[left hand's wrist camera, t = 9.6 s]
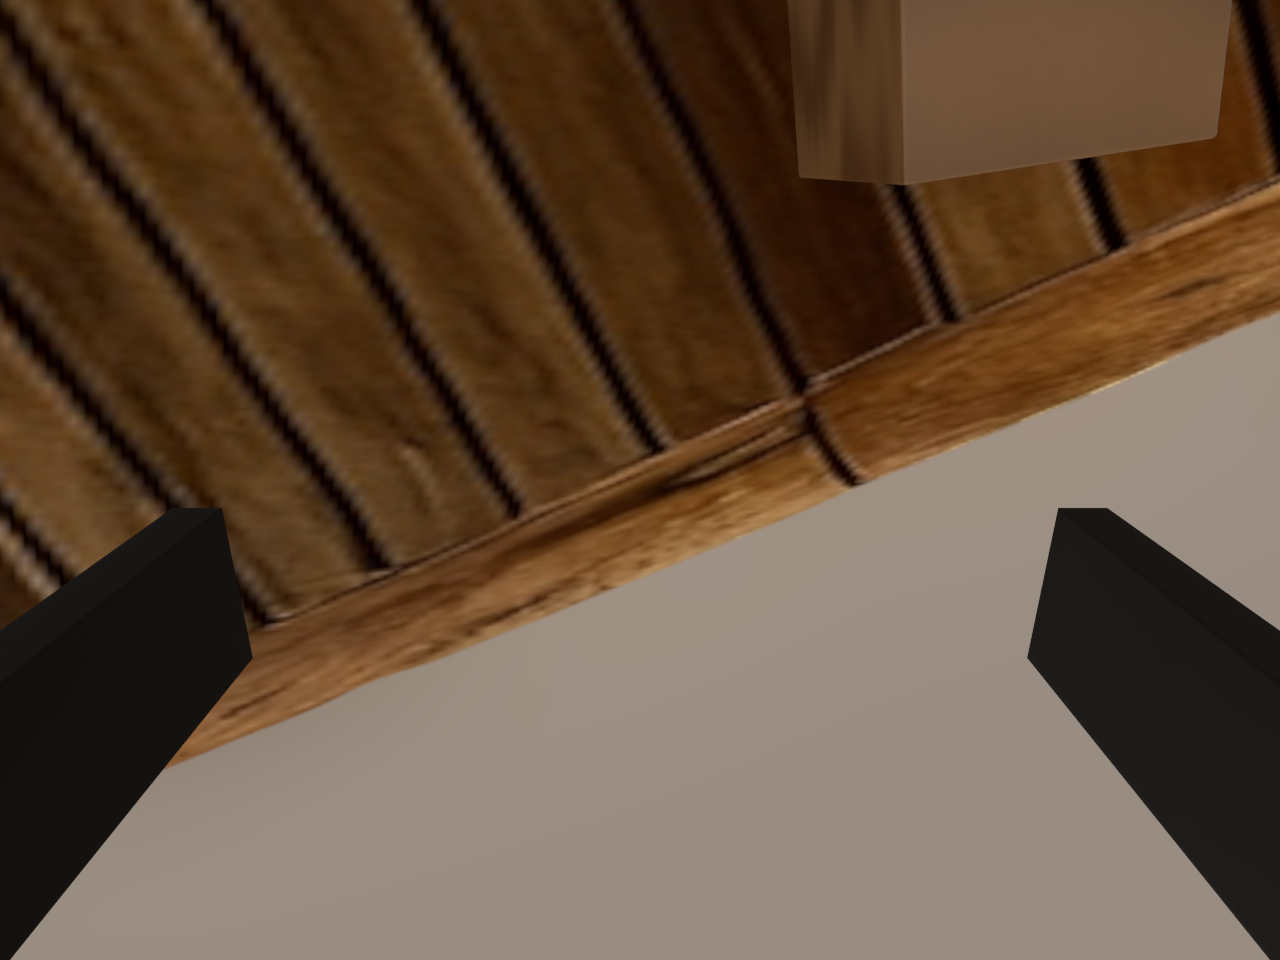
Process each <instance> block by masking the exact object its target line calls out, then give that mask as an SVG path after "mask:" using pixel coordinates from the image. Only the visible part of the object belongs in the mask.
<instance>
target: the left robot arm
mask: <svg viewBox="0 0 1280 960" xmlns="http://www.w3.org/2000/svg"><path fill="white" fill-rule="evenodd" d="M252 658H253V657H252V652H251V647H250V643H249V638H248V633H247V628H246V623H245V618H244V614H243V609H242V604H241V599H240V594H239V589H238V585H237V580H236V575H235V570H234V565H233V561H232V556H231V551H230V546H229V541H228V536H227V532H226V527H225V522H224V517H223V512H222V508H172V509H171V510H169V511H168V512H167V513H165V514H164V515H162V516H161V517H160V518H158V519H157V520H155V521H154V522H153V523H151V524H150V525H148V526H147V527H146V528H144V529H143V530H141V531H140V532H139V533H137V534H136V535H134V536H133V537H131V538H130V539H129V540H127V541H126V542H124V543H123V544H122V545H120V546H119V547H117V548H116V549H115V550H113V551H112V552H110V553H109V554H108V555H106V556H105V557H103V558H102V559H101V560H99V561H98V562H96V563H95V564H94V565H92V566H91V567H89V568H88V569H86V570H85V571H84V572H82V573H81V574H79V575H78V576H77V577H75V578H74V579H72V580H71V581H70V582H68V583H67V584H65V585H64V586H63V587H61V588H60V589H58V590H57V591H56V592H54V593H53V594H51V595H50V596H48V597H47V598H46V599H44V600H43V601H41V602H40V603H39V604H37V605H36V606H34V607H33V608H32V609H30V610H29V611H27V612H26V613H25V614H23V615H22V616H20V617H19V618H18V619H16V620H15V621H13V622H12V623H11V624H9V625H8V626H6V627H5V628H3V629H2V630H1V631H0V960H10V959H11V958H12V957H13V955H14V954H15V953H16V952H17V950H18V949H19V948H20V947H21V945H22V944H23V943H24V942H25V941H26V939H27V938H28V937H29V935H30V934H31V933H32V932H33V931H34V929H35V928H36V927H37V926H38V924H39V923H40V922H41V921H42V919H43V918H44V917H45V916H46V914H47V913H48V912H49V911H50V909H51V908H52V907H53V906H54V904H55V903H56V902H57V901H58V899H59V898H60V897H61V896H62V894H63V893H64V892H65V891H66V889H67V888H68V887H69V886H70V885H71V883H72V882H73V881H74V880H75V878H76V877H77V876H78V875H79V873H80V872H81V871H82V870H83V868H84V867H85V866H86V865H87V863H88V862H89V861H90V860H91V858H92V857H93V856H94V855H95V853H96V852H97V851H98V850H99V848H100V847H101V846H102V845H103V843H104V842H105V841H106V840H107V838H108V837H109V836H110V835H111V833H112V832H113V831H114V830H115V828H116V827H117V826H118V825H119V824H120V822H121V821H122V820H123V819H124V817H125V816H126V815H127V814H128V812H129V811H130V810H131V809H132V807H133V806H134V805H135V804H136V802H137V801H138V800H139V799H140V797H141V796H142V795H143V794H144V792H145V791H146V790H147V789H148V787H149V786H150V785H151V784H152V783H153V781H154V780H155V779H156V777H157V776H158V775H159V774H160V773H161V771H162V770H163V769H164V768H165V766H166V765H167V764H168V763H169V761H170V760H171V759H172V758H173V756H174V755H175V754H176V753H177V751H178V750H179V749H180V748H181V746H182V745H183V744H184V743H185V741H186V740H187V739H188V738H189V736H190V735H191V734H192V733H193V732H194V730H195V729H196V728H197V727H198V725H199V724H200V723H201V722H202V720H203V719H204V718H205V717H206V715H207V714H208V713H209V712H210V710H211V709H212V708H213V707H214V705H215V704H216V703H217V702H218V700H219V699H220V698H221V697H222V695H223V694H224V693H225V692H226V690H227V689H228V688H229V687H230V685H231V684H232V683H233V682H234V680H235V679H236V678H237V677H238V676H239V674H240V673H241V672H242V671H243V669H244V668H245V667H246V666H247V664H248V663H249V662H250V661H251V659H252ZM1027 658H1028V659H1029V661H1030V662H1031V663H1032V664H1033V666H1034V667H1035V668H1036V669H1037V670H1038V672H1039V673H1040V674H1041V675H1042V677H1043V678H1044V679H1045V680H1046V682H1047V683H1048V684H1049V685H1050V687H1051V688H1052V689H1053V690H1054V692H1055V693H1056V694H1057V695H1058V697H1059V698H1060V699H1061V700H1062V702H1063V703H1064V704H1065V705H1066V707H1067V708H1068V709H1069V710H1070V712H1071V713H1072V714H1073V715H1074V717H1075V718H1076V719H1077V720H1078V722H1079V723H1080V724H1081V725H1082V727H1083V728H1084V729H1085V730H1086V731H1087V733H1088V734H1089V735H1090V736H1091V738H1092V739H1093V740H1094V741H1095V743H1096V744H1097V745H1098V746H1099V748H1100V749H1101V750H1102V751H1103V753H1104V754H1105V755H1106V756H1107V758H1108V759H1109V760H1110V761H1111V763H1112V764H1113V765H1114V766H1115V768H1116V769H1117V770H1118V771H1119V773H1120V774H1121V775H1122V776H1123V778H1124V779H1125V780H1126V781H1127V783H1128V784H1129V785H1130V786H1131V787H1132V789H1133V790H1134V791H1135V792H1136V794H1137V795H1138V796H1139V797H1140V799H1141V800H1142V801H1143V802H1144V804H1145V805H1146V806H1147V807H1148V809H1149V810H1150V811H1151V812H1152V814H1153V815H1154V816H1155V817H1156V819H1157V820H1158V821H1159V822H1160V824H1161V825H1162V826H1163V827H1164V829H1165V830H1166V831H1167V832H1168V834H1169V835H1170V836H1171V837H1172V838H1173V840H1174V841H1175V842H1176V843H1177V845H1178V846H1179V847H1180V848H1181V850H1182V851H1183V852H1184V853H1185V855H1186V856H1187V857H1188V858H1189V860H1190V861H1191V862H1192V863H1193V865H1194V866H1195V867H1196V868H1197V870H1198V871H1199V872H1200V873H1201V875H1202V876H1203V877H1204V878H1205V880H1206V881H1207V882H1208V883H1209V884H1210V886H1211V887H1212V888H1213V889H1214V891H1215V892H1216V893H1217V894H1218V896H1219V897H1220V898H1221V899H1222V901H1223V902H1224V903H1225V904H1226V906H1227V907H1228V908H1229V909H1230V911H1231V912H1232V913H1233V914H1234V916H1235V917H1236V918H1237V919H1238V921H1239V922H1240V923H1241V924H1242V925H1243V927H1244V928H1245V929H1246V931H1247V932H1248V933H1249V934H1250V936H1251V937H1252V938H1253V939H1254V941H1255V942H1256V943H1257V944H1258V945H1259V947H1260V948H1261V949H1262V950H1263V952H1264V953H1265V954H1266V955H1267V957H1268V958H1269V959H1270V960H1280V631H1279V630H1278V629H1276V628H1275V627H1274V626H1272V625H1271V624H1269V623H1268V622H1267V621H1265V620H1264V619H1262V618H1261V617H1260V616H1258V615H1257V614H1255V613H1254V612H1253V611H1251V610H1250V609H1248V608H1247V607H1246V606H1244V605H1243V604H1241V603H1240V602H1238V601H1237V600H1236V599H1234V598H1233V597H1232V596H1230V595H1229V594H1227V593H1226V592H1224V591H1223V590H1222V589H1220V588H1219V587H1217V586H1216V585H1215V584H1213V583H1212V582H1210V581H1209V580H1208V579H1206V578H1205V577H1203V576H1202V575H1201V574H1199V573H1198V572H1196V571H1195V570H1193V569H1192V568H1191V567H1189V566H1188V565H1186V564H1185V563H1184V562H1182V561H1181V560H1179V559H1178V558H1177V557H1175V556H1174V555H1172V554H1171V553H1170V552H1168V551H1167V550H1165V549H1164V548H1163V547H1161V546H1160V545H1158V544H1157V543H1156V542H1154V541H1153V540H1151V539H1150V538H1148V537H1147V536H1146V535H1144V534H1143V533H1141V532H1140V531H1139V530H1137V529H1136V528H1134V527H1133V526H1132V525H1130V524H1129V523H1127V522H1126V521H1125V520H1123V519H1122V518H1120V517H1119V516H1118V515H1116V514H1115V513H1113V512H1112V511H1111V510H1109V509H1108V508H1058V513H1057V517H1056V522H1055V527H1054V532H1053V536H1052V541H1051V546H1050V551H1049V556H1048V561H1047V565H1046V570H1045V575H1044V580H1043V585H1042V589H1041V594H1040V599H1039V604H1038V609H1037V614H1036V618H1035V623H1034V628H1033V633H1032V638H1031V643H1030V647H1029V652H1028V657H1027Z"/></svg>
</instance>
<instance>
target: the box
mask: <svg viewBox="0 0 1280 960" xmlns="http://www.w3.org/2000/svg"><path fill="white" fill-rule="evenodd" d="M787 1H788V16H789V31H790V46H791V61H792V76H793V91H794V106H795V121H796V136H797V151H798V166H799V176H800V177H802V178H815V179H829V180H842V181H856V182H869V183H883V184H896V185H912V184H919V183H925V182H932V181H938V180H945V179H951V178H958V177H964V176H971V175H977V174H984V173H990V172H997V171H1003V170H1010V169H1017V168H1023V167H1030V166H1036V165H1043V164H1049V163H1056V162H1062V161H1069V160H1075V159H1082V158H1088V157H1095V156H1101V155H1108V154H1114V153H1121V152H1127V151H1134V150H1140V149H1147V148H1154V147H1160V146H1167V145H1173V144H1180V143H1186V142H1193V141H1199V140H1206V139H1212V138H1214V137H1216V134H1217V126H1218V118H1219V109H1220V100H1221V91H1222V83H1223V74H1224V65H1225V57H1226V48H1227V39H1228V30H1229V22H1230V13H1231V4H1232V0H787Z"/></svg>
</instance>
